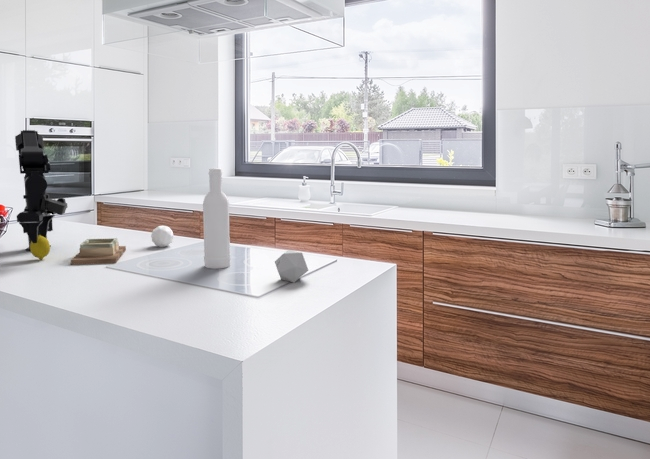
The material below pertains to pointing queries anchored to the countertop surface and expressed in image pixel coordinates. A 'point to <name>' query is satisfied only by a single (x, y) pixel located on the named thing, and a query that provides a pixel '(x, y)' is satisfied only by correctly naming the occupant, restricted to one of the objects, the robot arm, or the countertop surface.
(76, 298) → the countertop surface
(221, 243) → the bottle
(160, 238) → the ball
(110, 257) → the plinth
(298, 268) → the die
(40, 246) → the lemon
